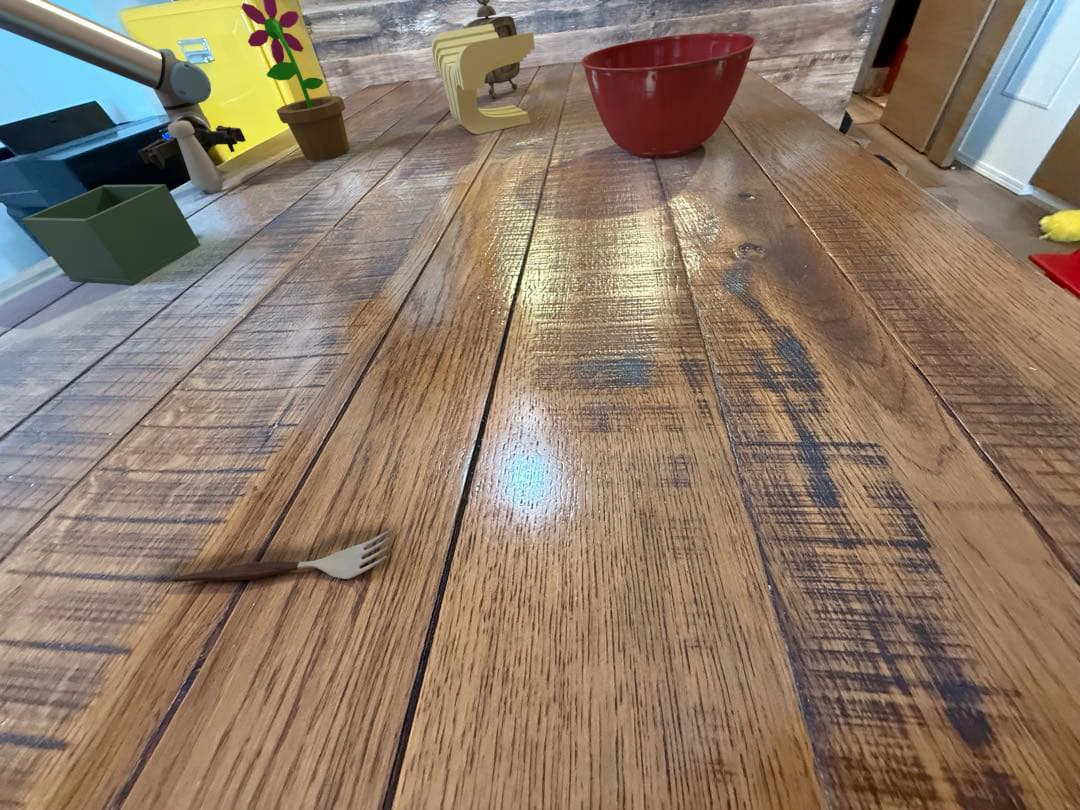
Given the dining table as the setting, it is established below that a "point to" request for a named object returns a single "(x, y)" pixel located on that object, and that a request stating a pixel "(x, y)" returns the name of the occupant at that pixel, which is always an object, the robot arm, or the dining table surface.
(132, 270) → the waste bin
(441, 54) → the slatted curved stool
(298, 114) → the flowerpot
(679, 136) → the mixing bowl
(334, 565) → the fork
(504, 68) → the tabletop clock
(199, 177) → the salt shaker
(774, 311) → the dining table surface
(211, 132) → the robot arm
